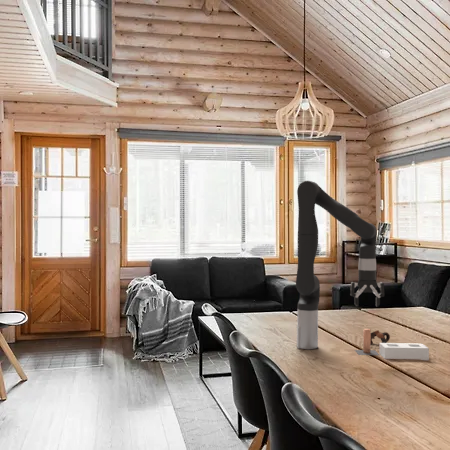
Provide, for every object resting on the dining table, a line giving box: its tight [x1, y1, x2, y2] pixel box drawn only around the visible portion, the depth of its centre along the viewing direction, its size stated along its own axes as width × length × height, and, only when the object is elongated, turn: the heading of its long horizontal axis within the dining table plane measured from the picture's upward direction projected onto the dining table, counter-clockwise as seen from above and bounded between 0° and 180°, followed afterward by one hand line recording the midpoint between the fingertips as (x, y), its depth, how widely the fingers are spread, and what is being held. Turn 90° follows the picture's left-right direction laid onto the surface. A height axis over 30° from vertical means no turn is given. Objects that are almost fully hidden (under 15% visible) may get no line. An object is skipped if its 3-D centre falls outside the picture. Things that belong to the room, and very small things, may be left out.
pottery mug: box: [371, 330, 391, 344], centre depth 252 cm, size 12×10×8 cm
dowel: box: [362, 328, 372, 353], centre depth 236 cm, size 3×3×10 cm
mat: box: [354, 349, 380, 356], centre depth 236 cm, size 9×9×1 cm
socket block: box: [378, 342, 430, 361], centre depth 230 cm, size 18×9×5 cm, turn 88°
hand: (367, 306), depth 236 cm, fingers open, 8 cm apart
